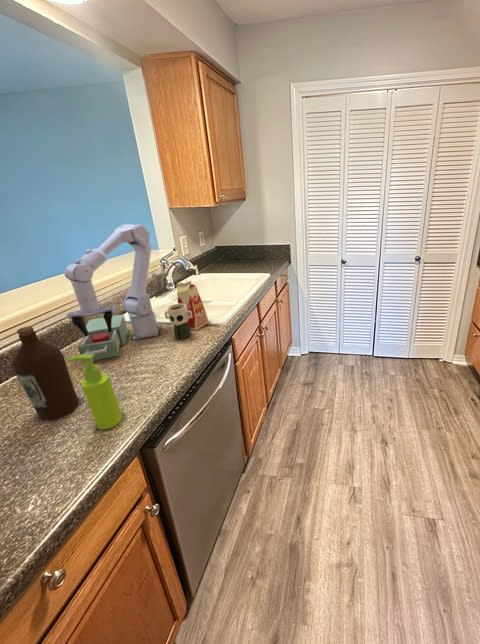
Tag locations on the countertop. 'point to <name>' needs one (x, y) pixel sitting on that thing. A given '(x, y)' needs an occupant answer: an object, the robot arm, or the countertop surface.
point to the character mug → (179, 319)
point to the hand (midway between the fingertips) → (98, 333)
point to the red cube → (100, 337)
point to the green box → (101, 325)
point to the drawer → (101, 345)
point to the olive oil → (44, 376)
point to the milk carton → (192, 305)
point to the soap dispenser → (99, 393)
